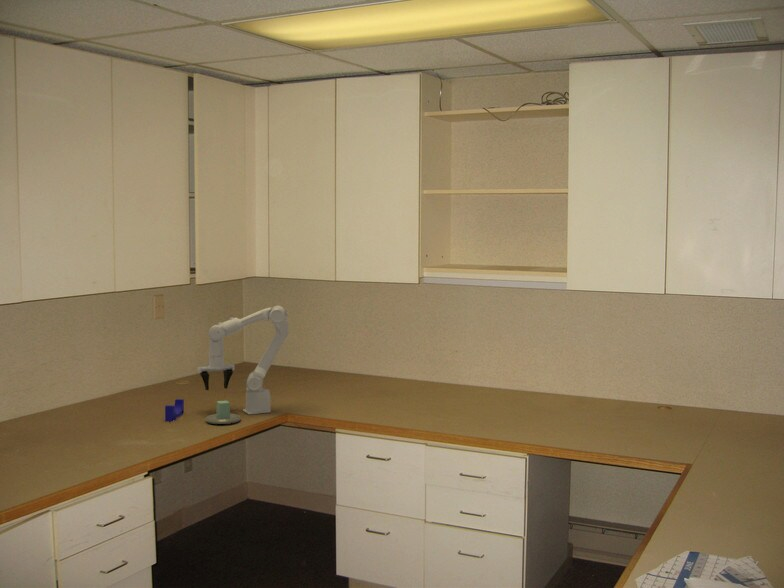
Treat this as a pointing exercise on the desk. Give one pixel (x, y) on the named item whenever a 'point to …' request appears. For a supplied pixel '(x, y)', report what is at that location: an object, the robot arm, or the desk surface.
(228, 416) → the pale green block
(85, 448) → the desk surface
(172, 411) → the cable clip
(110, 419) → the desk surface
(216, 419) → the slate plate
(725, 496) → the desk surface
